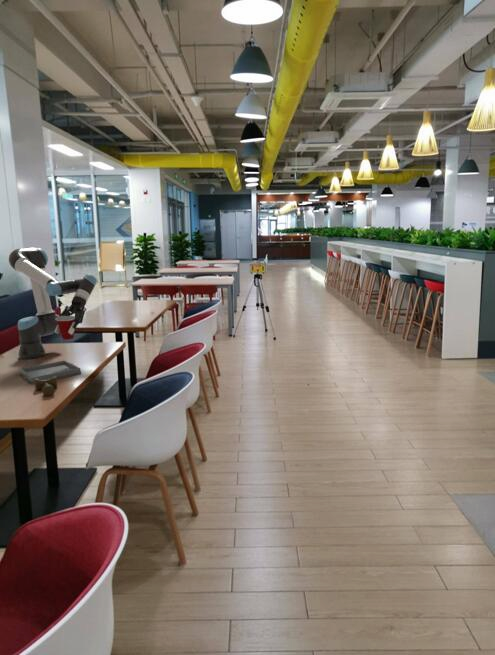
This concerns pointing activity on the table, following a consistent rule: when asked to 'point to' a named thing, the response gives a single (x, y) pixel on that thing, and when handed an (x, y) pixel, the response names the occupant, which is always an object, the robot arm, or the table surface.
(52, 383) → the kendama
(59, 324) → the plastic cup
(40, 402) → the table surface
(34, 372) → the grey tray
